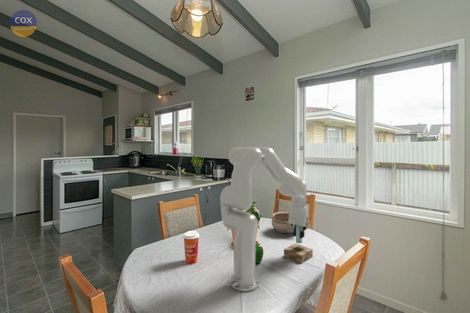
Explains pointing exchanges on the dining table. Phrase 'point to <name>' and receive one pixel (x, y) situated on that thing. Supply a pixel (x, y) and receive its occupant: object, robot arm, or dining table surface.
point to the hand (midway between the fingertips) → (298, 236)
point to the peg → (298, 234)
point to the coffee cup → (191, 246)
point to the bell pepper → (258, 253)
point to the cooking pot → (282, 222)
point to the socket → (298, 253)
